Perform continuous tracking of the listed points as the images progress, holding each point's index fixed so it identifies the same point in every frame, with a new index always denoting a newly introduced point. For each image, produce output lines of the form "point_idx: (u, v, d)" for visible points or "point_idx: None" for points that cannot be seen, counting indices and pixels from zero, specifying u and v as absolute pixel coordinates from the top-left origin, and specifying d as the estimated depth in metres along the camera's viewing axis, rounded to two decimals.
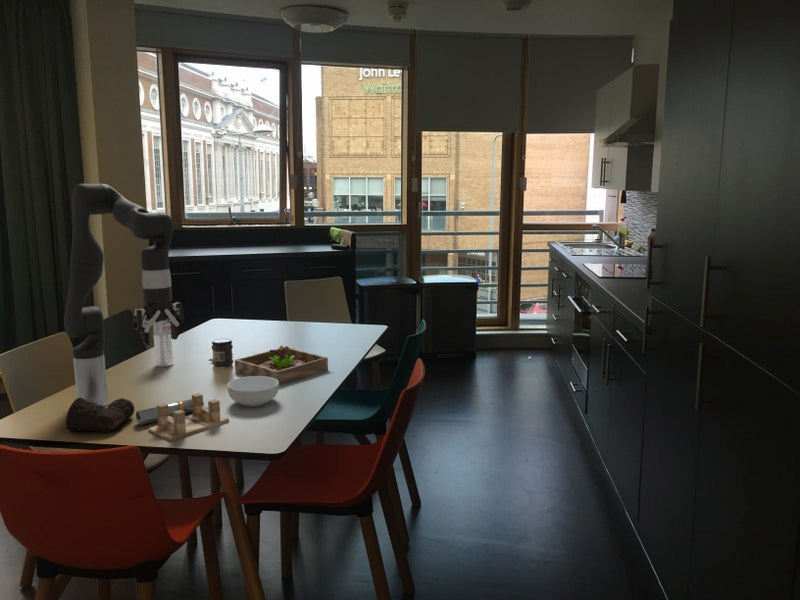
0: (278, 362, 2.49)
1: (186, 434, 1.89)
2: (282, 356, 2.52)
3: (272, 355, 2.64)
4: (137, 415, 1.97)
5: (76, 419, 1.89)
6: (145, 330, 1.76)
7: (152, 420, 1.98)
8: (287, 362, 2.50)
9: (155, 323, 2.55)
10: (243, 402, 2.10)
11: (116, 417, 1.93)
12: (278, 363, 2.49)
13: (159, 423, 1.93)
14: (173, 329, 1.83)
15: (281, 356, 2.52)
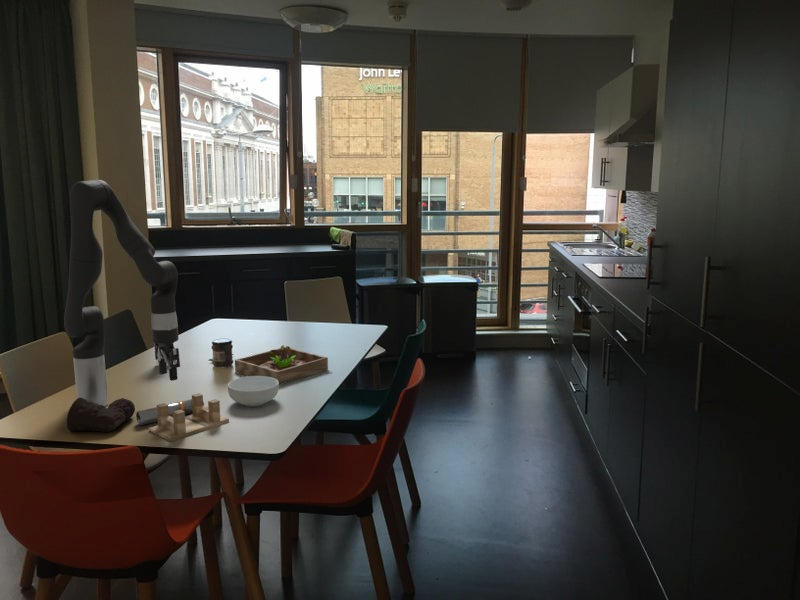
0: (279, 362, 2.49)
1: (186, 434, 1.89)
2: (283, 356, 2.52)
3: (272, 355, 2.64)
4: (137, 415, 1.97)
5: (77, 419, 1.89)
6: None
7: (152, 420, 1.97)
8: (288, 362, 2.50)
9: None
10: (243, 402, 2.10)
11: (117, 417, 1.93)
12: (279, 363, 2.49)
13: (159, 423, 1.93)
14: (164, 364, 2.03)
15: (282, 356, 2.52)
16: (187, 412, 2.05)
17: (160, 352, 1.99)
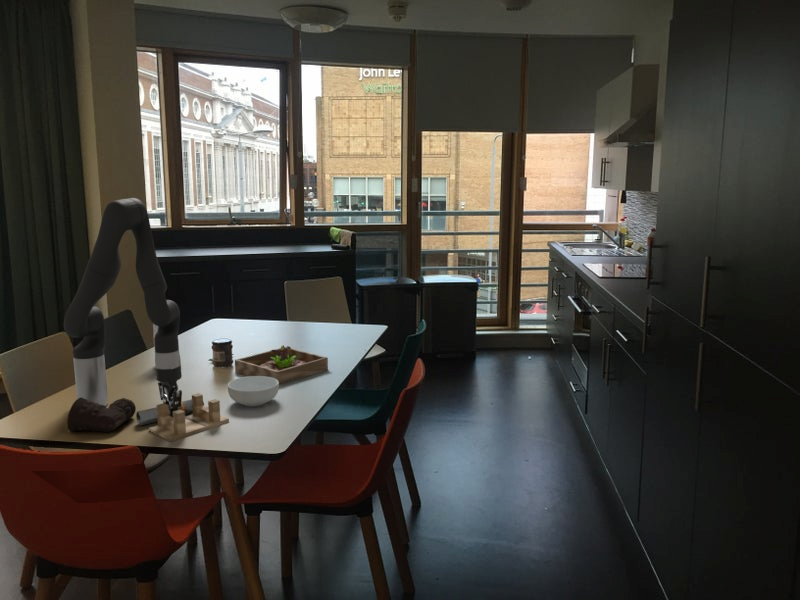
0: (279, 362, 2.49)
1: (186, 434, 1.89)
2: (283, 356, 2.52)
3: (272, 355, 2.64)
4: (137, 415, 1.97)
5: (78, 419, 1.89)
6: None
7: (152, 421, 1.97)
8: (288, 362, 2.50)
9: None
10: (243, 402, 2.10)
11: (118, 417, 1.93)
12: (279, 363, 2.49)
13: (159, 423, 1.93)
14: None
15: (282, 356, 2.52)
16: (187, 412, 2.05)
17: (164, 390, 2.01)
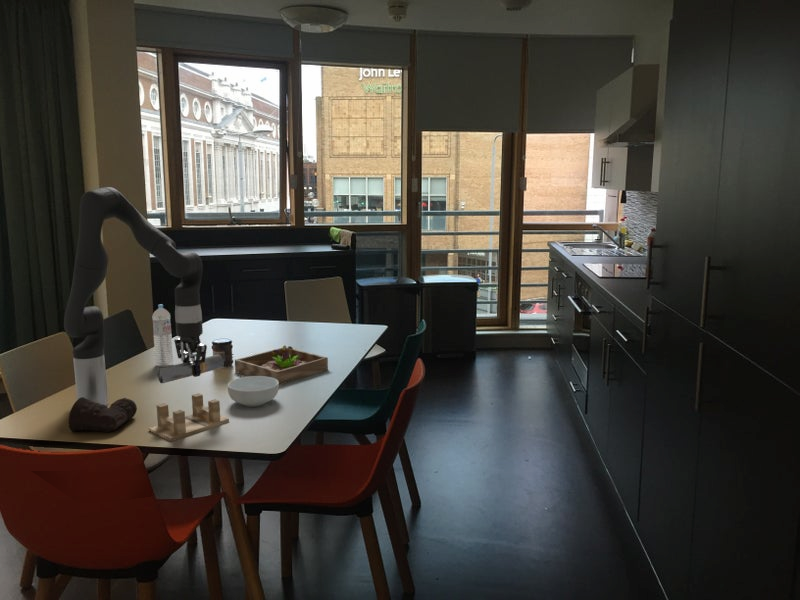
0: (281, 362, 2.49)
1: (186, 434, 1.89)
2: (285, 356, 2.52)
3: (272, 355, 2.64)
4: (159, 372, 1.87)
5: (79, 419, 1.89)
6: None
7: (175, 378, 1.88)
8: (290, 362, 2.50)
9: (155, 323, 2.55)
10: (243, 402, 2.10)
11: (119, 417, 1.93)
12: (281, 363, 2.49)
13: (159, 423, 1.93)
14: None
15: (284, 356, 2.52)
16: (208, 369, 1.97)
17: (184, 346, 1.93)
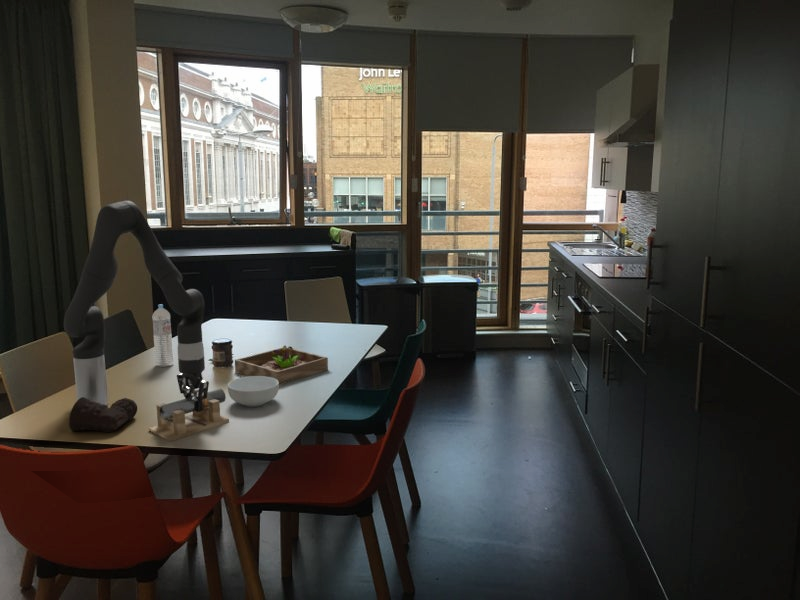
0: (281, 362, 2.49)
1: (186, 434, 1.89)
2: (285, 356, 2.52)
3: (272, 355, 2.64)
4: (162, 409, 1.89)
5: (80, 419, 1.89)
6: None
7: None
8: (290, 362, 2.50)
9: (155, 323, 2.55)
10: (243, 402, 2.10)
11: (119, 417, 1.93)
12: (281, 363, 2.49)
13: (159, 423, 1.93)
14: None
15: (284, 356, 2.52)
16: None
17: (186, 382, 1.95)
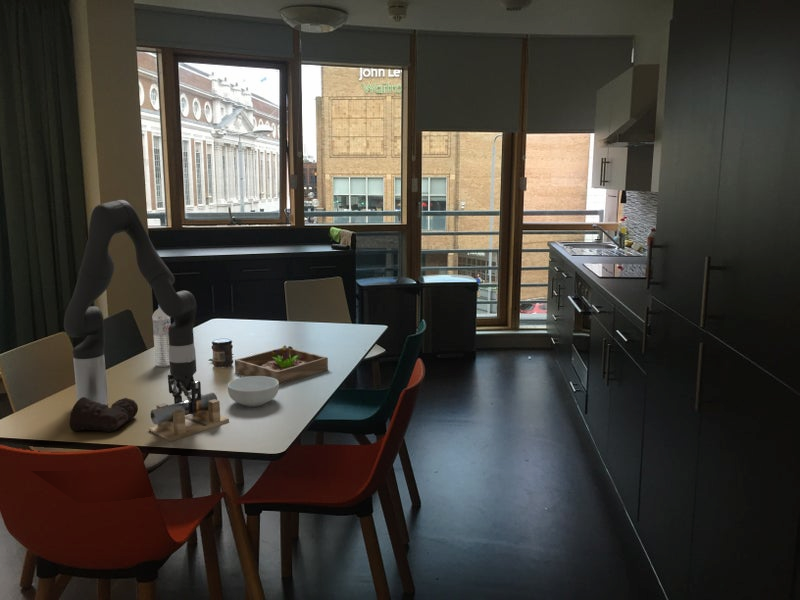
0: (281, 362, 2.49)
1: (186, 434, 1.89)
2: (285, 356, 2.52)
3: (272, 355, 2.64)
4: (153, 413, 1.87)
5: (80, 419, 1.89)
6: None
7: (169, 419, 1.88)
8: (290, 362, 2.50)
9: (155, 323, 2.55)
10: (243, 402, 2.10)
11: (120, 416, 1.93)
12: (281, 363, 2.49)
13: None
14: (179, 398, 1.96)
15: (284, 356, 2.52)
16: (201, 408, 1.97)
17: (177, 385, 1.93)
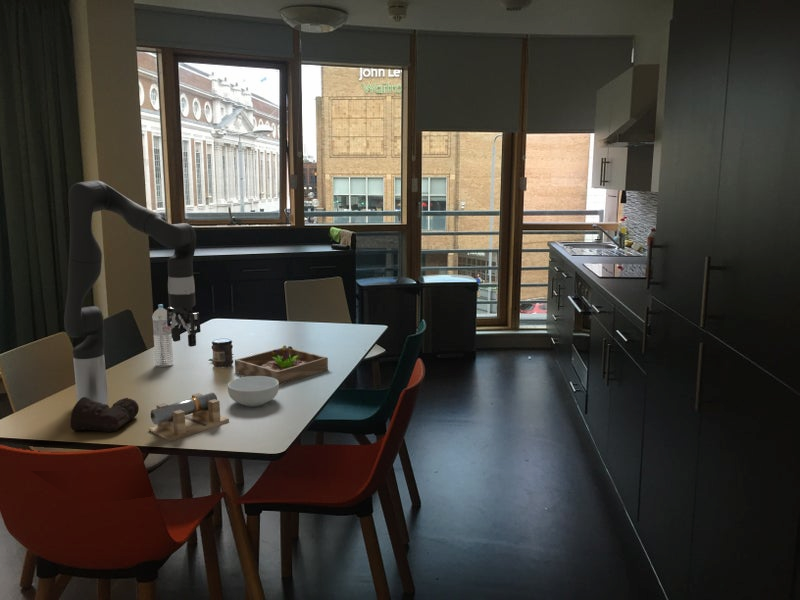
0: (281, 362, 2.49)
1: (186, 434, 1.89)
2: (285, 356, 2.52)
3: (272, 355, 2.64)
4: (153, 414, 1.87)
5: (81, 419, 1.89)
6: None
7: (169, 419, 1.88)
8: (290, 362, 2.50)
9: (155, 323, 2.55)
10: (243, 402, 2.10)
11: (121, 416, 1.93)
12: (281, 363, 2.49)
13: None
14: (177, 331, 1.97)
15: (284, 356, 2.52)
16: (201, 408, 1.97)
17: (176, 318, 1.93)
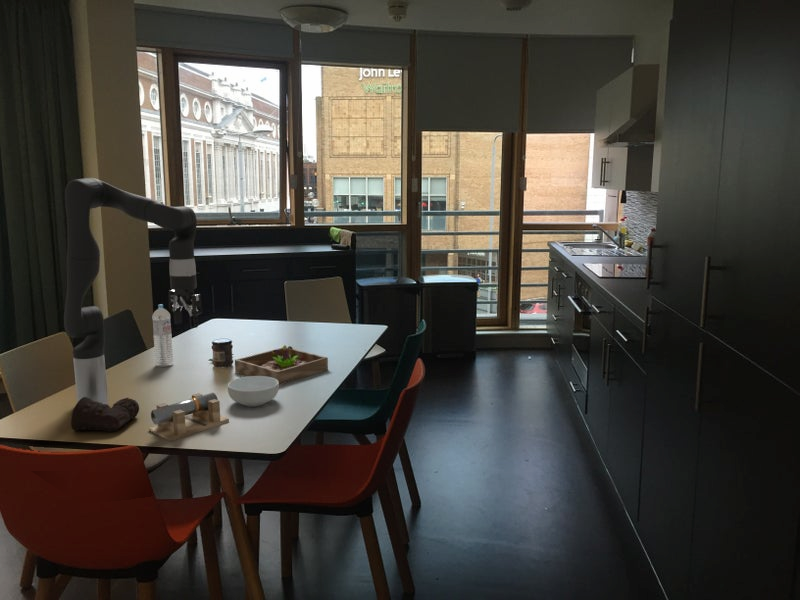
0: (281, 362, 2.49)
1: (186, 434, 1.89)
2: (285, 356, 2.52)
3: (272, 355, 2.64)
4: (153, 413, 1.87)
5: (82, 418, 1.89)
6: None
7: (169, 419, 1.88)
8: (290, 362, 2.50)
9: (155, 323, 2.55)
10: (243, 402, 2.10)
11: (121, 416, 1.93)
12: (281, 363, 2.49)
13: None
14: (179, 314, 1.99)
15: (284, 356, 2.52)
16: (201, 409, 1.97)
17: (177, 300, 1.95)
